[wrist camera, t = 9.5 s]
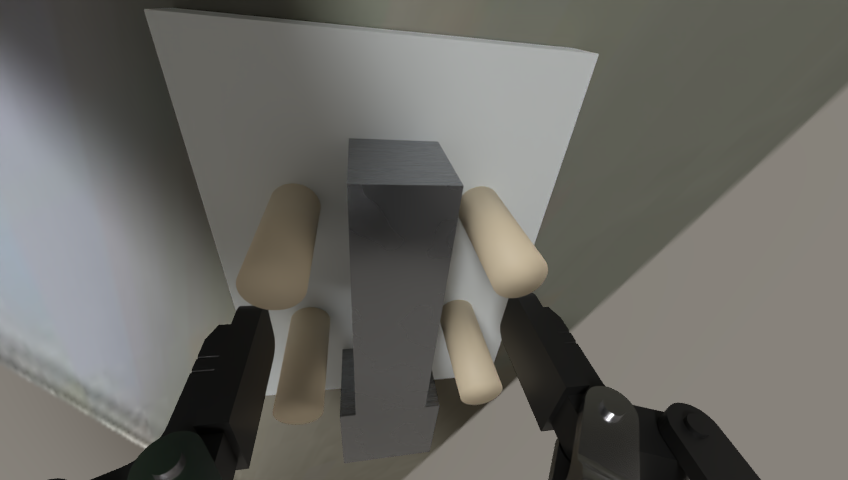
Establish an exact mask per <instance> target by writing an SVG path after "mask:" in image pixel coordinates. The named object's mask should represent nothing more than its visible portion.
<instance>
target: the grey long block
mask: <svg viewBox="0 0 848 480" xmlns="http://www.w3.org/2000/svg"><path fill="white" fill-rule="evenodd" d="M463 187H464V185H463V184H462V182H461V180H460V179H459V177H458V175H457V173H456V172H455V170H454V168H453V166H452V165H451V163H450V161H449V160H448V158H447V156H446V154H445V153H444V151H443V149H442V147H441V146H440V144H439V142H437V141H410V140H383V139H356V138H349V146H348V171H347V199H348V225H349V252H350V278H351V304H352V331H353V349H342V376H341V405H340V422H341V433H342V445H343V456H344V463H349V462H356V461H363V460H371V459H378V458H385V457H393V456H400V455H407V454H415V453H422V452H429V451H430V447H431V443H432V438H433V433H434V429H435V424H436V420H437V415H438V410H439V401H438V396H437V392H436V387H435V382H434V377H433V372H432V365H433V360H434V354H435V348H436V342H437V337H438V331H439V325H440V319H441V314H442V308H443V302H444V296H445V290H446V285H447V279H448V273H449V267H450V262H451V256H452V250H453V244H454V239H455V233H456V227H457V221H458V215H459V210H460V204H461V198H462V192H463Z"/></svg>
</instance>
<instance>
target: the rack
mask: <svg viewBox="0 0 848 480" xmlns="http://www.w3.org/2000/svg"><path fill="white" fill-rule="evenodd" d="M144 12H145V16H146V19H147V22H148V25H149V29H150V32H151V35H152V39H153V42H154V45H155V48H156V52H157V55H158V58H159V61H160V65H161V68H162V71H163V75H164V78H165V81H166V84H167V88H168V91H169V94H170V98H171V101H172V104H173V107H174V111H175V114H176V117H177V120H178V124H179V127H180V130H181V134H182V137H183V140H184V143H185V147H186V150H187V153H188V156H189V160H190V163H191V166H192V170H193V173H194V176H195V179H196V183H197V186H198V189H199V192H200V196H201V199H202V202H203V206H204V209H205V212H206V215H207V219H208V222H209V225H210V229H211V232H212V235H213V238H214V242H215V245H216V248H217V251H218V255H219V258H220V261H221V265H222V268H223V271H224V274H225V278H226V281H227V284H228V287H229V291H230V294H231V297H232V301H233V304H234V307H235V310H237V309H238V307H239V306H256V307H258V308H262V309H266V310H268V311H269V315H270V319H271V324H272V328H273V333H274V337H275V353H274V359H273V363H272V368H271V372H270V377H269V381H268V386H267V390H266V394H265V396H266V395H276V398H275V403H274V408H273V416H274V418H275V419H276V420H278V421H280V422H282V423H285V424H291V425H301V424H307V423H310V422H313V421H315V420H317V419H318V418H320V417H321V416H322V414H323V411H324V398H325V390H330V389H340V388H341V376H342V349H353V331H352V304H351V278H350V252H349V225H348V199H347V171H348V146H349V138H356V139H383V140H410V141H437V142H439V144H440V146H441V147H442V149H443V151H444V153H445V154H446V156H447V158H448V160H449V161H450V163H451V165H452V166H453V168H454V170H455V172H456V173H457V175H458V177H459V179H460V180H461V182H462V184H463V185H464V187H463V192H462V198H461V204H460V210H459V215H458V221H457V227H456V233H455V239H454V244H453V250H452V256H451V262H450V267H449V273H448V279H447V285H446V290H445V296H444V302H443V308H442V314H441V319H440V325H439V331H438V337H437V342H436V348H435V354H434V360H433V365H432V372H433V377H434V380H435V379H446V378H455V380H456V383H457V387H458V391H459V395H460V398H461V401H462V402H464V403H465V404H469V405H479V404H484V403H487V402H489V401H492V400H493V399H495V398H496V397H497V396H499V394H500V393H501V392H502V384H501V382H500V379H499V376H498V374H497V371H496V368H495V366H494V361H495V358H496V355H497V352H498V349H499V346H500V343H501V340H502V339H501V334H500V324H501V320H502V317H503V314H504V311H505V308H506V305H507V302H508V299H509V298H518V297H522V296H525V295H528V294H530V293H531V292H533V291H535V290H536V289H537V288H538V287H539V286H540V285H541V284H542V283H543V282H544V280H545V279H546V276H547V273H548V266H547V263H546V261H545V260H544V258H543V257H542V256H541V254H540V253H539V252H538V250H537V249H536V247H535V246H534V243H535V240H536V238H537V235H538V232H539V229H540V226H541V223H542V220H543V217H544V214H545V211H546V208H547V205H548V202H549V199H550V196H551V193H552V191H553V188H554V185H555V182H556V179H557V176H558V173H559V170H560V167H561V164H562V161H563V158H564V155H565V152H566V149H567V146H568V143H569V141H570V138H571V135H572V132H573V129H574V126H575V123H576V120H577V117H578V114H579V111H580V108H581V105H582V102H583V99H584V96H585V94H586V91H587V88H588V85H589V82H590V79H591V76H592V73H593V70H594V67H595V64H596V61H597V58H598V55H599V54H597V53H592V52H588V51H584V50H580V49H575V48H568V47H558V46H548V45H538V44H528V43H518V42H508V41H498V40H488V39H478V38H468V37H459V36H449V35H439V34H429V33H419V32H409V31H399V30H389V29H379V28H369V27H359V26H349V25H339V24H329V23H319V22H310V21H300V20H290V19H280V18H270V17H260V16H250V15H240V14H230V13H220V12H210V11H200V10H190V9H180V8H154V9H144Z"/></svg>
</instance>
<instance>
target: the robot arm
mask: <svg viewBox="0 0 848 480" xmlns="http://www.w3.org/2000/svg"><path fill="white" fill-rule="evenodd" d="M500 334H501V339H502V341H503V344H504V346H505V348H506V351H507V353H508V355H509V358H510V360H511V362H512V365H513V367H514V369H515V372H516V374H517V376H518V379H519V381H520V383H521V386H522V388H523V390H524V393H525V395H526V397H527V400H528V402H529V404H530V407H531V409H532V411H533V414H534V416H535V418H536V421H537V422H538V425H539V427H540V430H541V431H548V430H554V431H555V433H556V435H557V437H558V439H557V440H556V443H555V447H554V453H553V458H552V463H551V468H550V473H549V479H548V480H761V479H760V478H759V477H758V476H757V474H756V473H755V472H754V471H753V470H752V468H751V467H750V466H749V464H748V463H747V462H746V461H745V459H744V458H743V457H742V455H741V454H740V453H739V452H738V450H737V449H736V448H735V447H734V445H733V444H732V443H731V442H730V440H729V439H728V438H727V437H726V435H725V434H724V433H723V431H722V430H721V429H720V428H719V426H717V424H716V423H715V422H714V421H713V420H712V419H711V418H710V417H709V416H707V415H706V414H705V413H704V412H702V411H701V410H699V409H697V408H695V407H693V406H691V405H688V404H684V403H674V404H672V405H670V406H669V407H668V408H667V410H666V411H665V412H661V411H657V410H652V409H648V408H643V407H639V406H635V405H632V404H631V403H630V401H629V400H628V399H627V398H626V397H625V396H623V395H622V394H621V393H619V392H618V391H616V390H614V389H612V388H609V387H606V386H605V385H604V384H603V383H602V381H601V380H600V378H599V376H598V375H597V373H596V372H595V370H594V369H593V367H592V366H591V364H590V362H589V361H588V359H587V358H586V356H585V355H584V353H583V352H582V350H581V348H580V347H579V345H578V344H576V342H575V339H574V338H573V336H572V334H571V333H569V330H568V328H567V327H566V325H565V324H564V322H563V320H562V319H561V318H560V317H559V316H558V315H557V314H556V313H555V312H553V311H552V310H551V309H550V308H549V307H542V305H541V303H540V302H539V300H538V298H537V297H536V295H535V294H533V293H530V294H528V295H525V296H522V297H518V298H509V299H508V302H507V305H506V308H505V311H504V314H503V317H502V320H501V324H500ZM274 353H275V337H274V333H273V328H272V324H271V319H270V315H269V311H268V310H266V309H262V308H258V307H256V306H239V307H238V309H237V310H236V313H235V316H234V318H233V321H232V324H226V325H218V326H217V328H216V329H215V330H214V331H213V332H212V333H211V334H210V335H209V336H208V337H207V338H206V339H205V341H204V343H203V345H202V348H201V350H200V352H199V354H198V359H196V361H195V364H194V366H193V368H192V373H191V374H190V375H189V377H188V380H187V382H186V384H185V386H184V389H183V391H182V393H181V396H180V398H179V400H178V402H177V405H176V407H175V409H174V412H173V414H172V416H171V418H170V421H169V423H168V425H167V427H166V429H165V431H164V433H163V434H162V436H161V437H160V438H159V439H157V440H156V441H155V442H153V443H152V444H150V445H149V446H148V447H147V448H146V449H145V450H144V451H143V452H142V453H141V454H140V455H139V456H138V458H137V459H136V460H135V461H133V462H131V463H129V464H128V465H125V466H123V467H121V468H119V469H116V470H114V471H111V472H109V473H107V474H104V475H101V476H99V477H96V478H94V479H91V480H233V478H234V474H235V470H241V469H248V468H249V466H250V461H251V457H252V452H253V448H254V443H255V439H256V434H257V430H258V426H259V421H260V417H261V412H262V408H263V403H264V399H265V394H266V390H267V386H268V381H269V377H270V372H271V368H272V363H273V359H274ZM49 480H65V479H58V478H57V479H49Z"/></svg>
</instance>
